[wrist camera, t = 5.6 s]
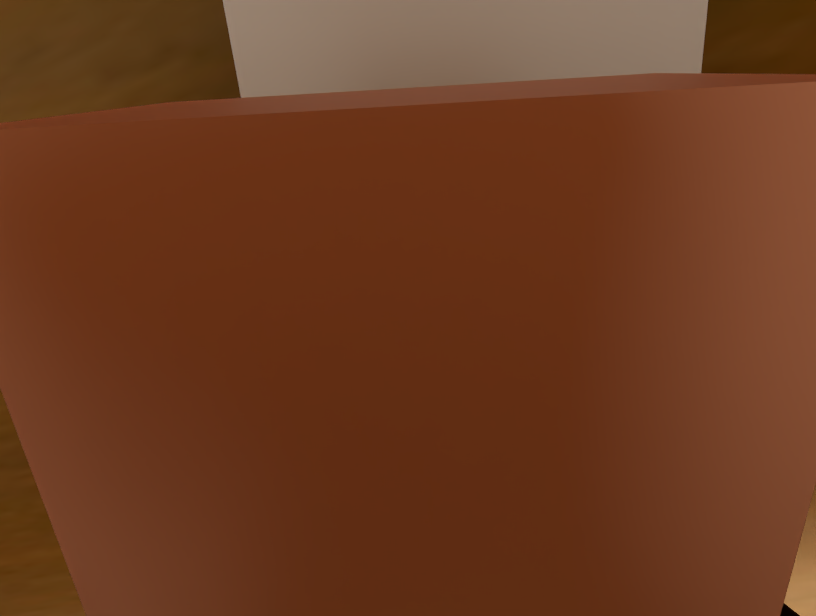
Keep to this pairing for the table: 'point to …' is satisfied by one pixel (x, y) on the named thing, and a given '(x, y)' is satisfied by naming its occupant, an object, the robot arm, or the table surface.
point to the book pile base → (455, 42)
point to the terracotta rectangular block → (421, 347)
